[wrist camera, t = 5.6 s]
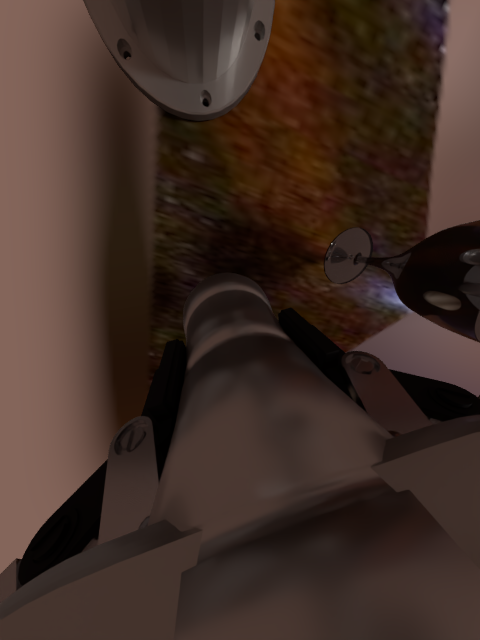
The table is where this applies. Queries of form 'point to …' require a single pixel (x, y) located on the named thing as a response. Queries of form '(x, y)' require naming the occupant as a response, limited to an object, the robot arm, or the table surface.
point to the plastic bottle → (294, 497)
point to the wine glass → (422, 273)
